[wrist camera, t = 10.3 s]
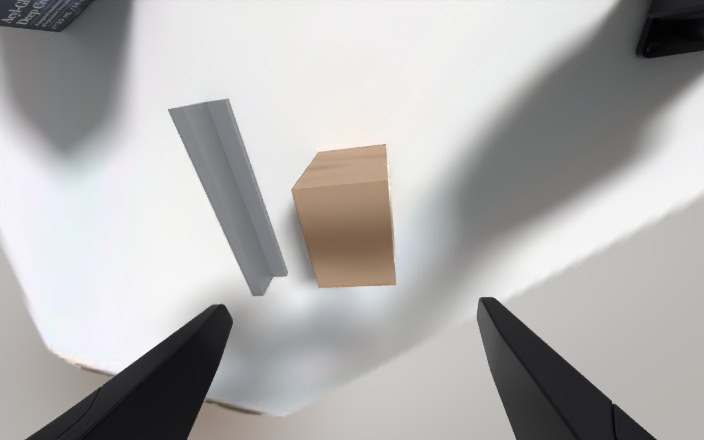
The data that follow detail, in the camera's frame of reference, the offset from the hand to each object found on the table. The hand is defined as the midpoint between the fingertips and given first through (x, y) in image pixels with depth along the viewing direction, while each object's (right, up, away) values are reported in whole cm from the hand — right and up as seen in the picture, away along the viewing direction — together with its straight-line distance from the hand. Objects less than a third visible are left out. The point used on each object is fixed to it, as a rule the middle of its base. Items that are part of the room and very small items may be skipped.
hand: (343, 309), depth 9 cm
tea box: (+1, +5, +12) cm, 13 cm away
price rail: (-9, +5, +13) cm, 17 cm away
